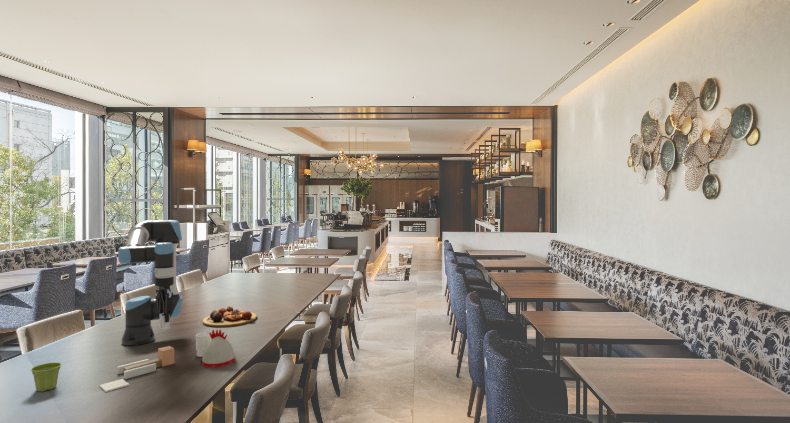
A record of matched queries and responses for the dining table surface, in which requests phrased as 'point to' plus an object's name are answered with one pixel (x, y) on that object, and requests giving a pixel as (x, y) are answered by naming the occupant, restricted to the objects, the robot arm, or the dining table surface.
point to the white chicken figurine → (218, 351)
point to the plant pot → (46, 376)
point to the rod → (144, 364)
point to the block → (166, 355)
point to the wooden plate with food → (229, 318)
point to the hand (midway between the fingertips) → (164, 328)
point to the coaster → (114, 385)
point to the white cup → (202, 342)
